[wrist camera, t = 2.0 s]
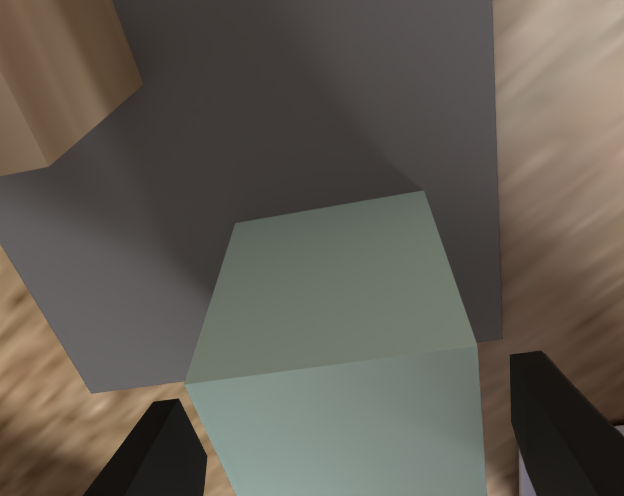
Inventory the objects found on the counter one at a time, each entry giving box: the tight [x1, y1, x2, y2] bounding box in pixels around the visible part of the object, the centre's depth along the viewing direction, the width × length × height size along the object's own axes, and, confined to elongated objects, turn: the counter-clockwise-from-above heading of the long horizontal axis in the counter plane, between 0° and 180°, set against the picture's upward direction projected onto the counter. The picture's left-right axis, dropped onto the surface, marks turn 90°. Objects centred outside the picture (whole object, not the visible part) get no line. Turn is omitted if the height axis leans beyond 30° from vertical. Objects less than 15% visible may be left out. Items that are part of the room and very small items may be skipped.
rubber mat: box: [0, 0, 503, 394], centre depth 14 cm, size 14×14×1 cm
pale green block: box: [184, 190, 487, 496], centre depth 13 cm, size 5×5×6 cm
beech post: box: [0, 0, 143, 176], centre depth 10 cm, size 3×3×5 cm
